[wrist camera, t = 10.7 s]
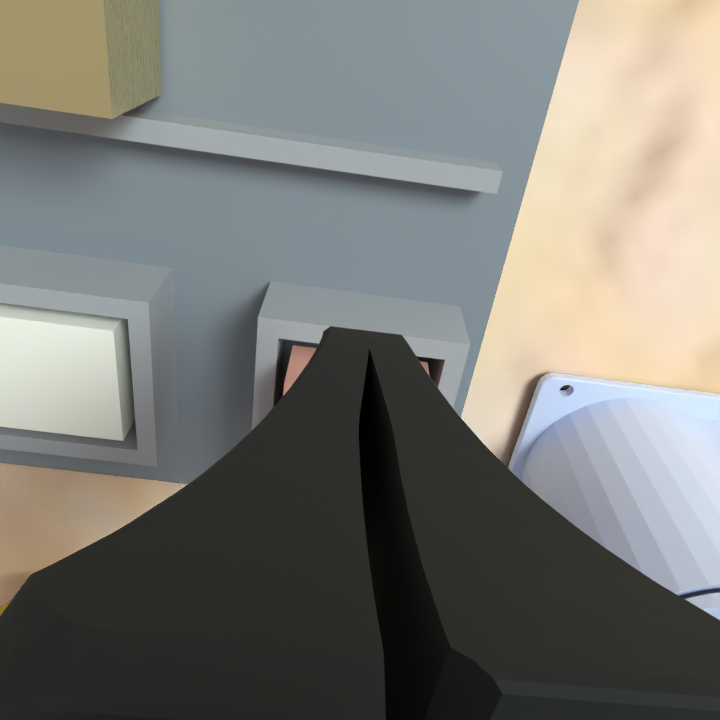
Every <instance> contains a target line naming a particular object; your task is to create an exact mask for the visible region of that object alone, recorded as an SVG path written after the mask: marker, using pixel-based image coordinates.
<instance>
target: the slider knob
mask: <svg viewBox="0 0 720 720" xmlns="http://www.w3.org/2000/svg"><path fill="white" fill-rule="evenodd" d="M161 94H162V90H161V60H160V30H159V0H0V103H6V104H13V105H20V106H26V107H33V108H40V109H47V110H54V111H61V112H67V113H74V114H81V115H88V116H95V117H101V118H108V119H113V118H115V117H117V116H119V115H121V114H123V113H125V112H127V111H129V110H131V109H133V108H135V107H137V106H139V105H141V104H143V103H145V102H147V101H149V100H151V99H153V98H155V97H157V96H159V95H161Z"/></svg>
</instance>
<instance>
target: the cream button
mask: <svg viewBox="0 0 720 720" xmlns="http://www.w3.org/2000/svg"><path fill="white" fill-rule="evenodd" d="M134 420H135V409H134V396H133V383H132V369H131V356H130V342H129V329H128V319H123V318H115V317H107V316H100V315H92V314H84V313H76V312H68V311H61V310H53V309H45V308H37V307H29V306H22V305H14V304H6V303H0V427H8V428H17V429H25V430H34V431H42V432H51V433H59V434H68V435H76V436H85V437H94V438H102V439H111V440H119V441H123V440H124V439H125V437H126V435H127V433H128V431H129V430H130V428H131V426H132V424H133V422H134Z"/></svg>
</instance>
